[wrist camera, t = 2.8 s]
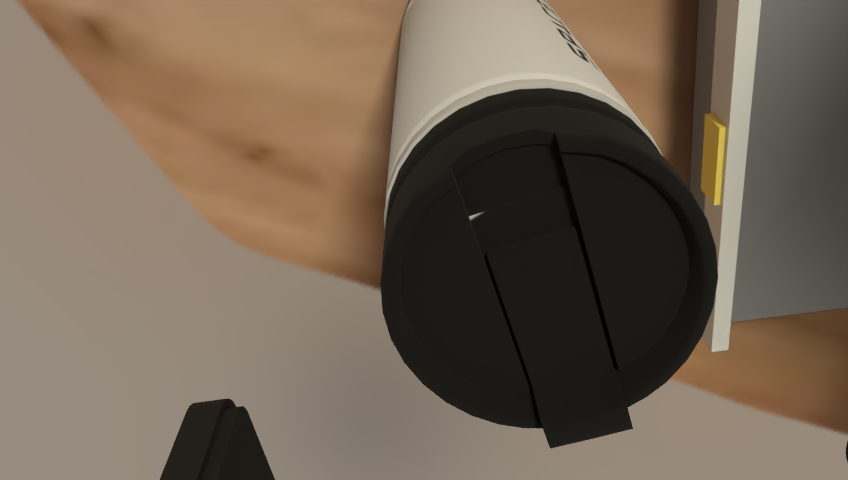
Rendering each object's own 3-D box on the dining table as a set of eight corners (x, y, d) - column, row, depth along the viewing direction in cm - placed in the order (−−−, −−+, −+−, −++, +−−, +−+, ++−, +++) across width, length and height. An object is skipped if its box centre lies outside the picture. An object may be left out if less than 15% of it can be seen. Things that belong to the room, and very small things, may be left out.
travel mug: (431, 127, 31) (446, 482, 14) (380, -14, 28) (317, 223, 11) (563, 83, 30) (753, 409, 13) (525, -68, 27) (712, 98, 10)
